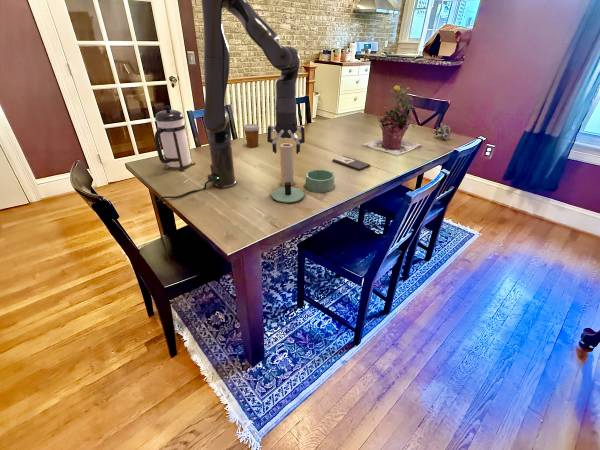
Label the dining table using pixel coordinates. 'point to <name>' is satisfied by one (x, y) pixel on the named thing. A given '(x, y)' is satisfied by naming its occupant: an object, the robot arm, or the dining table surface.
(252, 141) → the disposable coffee cup
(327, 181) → the pot
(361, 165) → the chocolate bar
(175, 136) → the coffee press
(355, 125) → the dining table surface
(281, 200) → the lid
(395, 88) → the potted flower
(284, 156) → the light brown hollow cylinder
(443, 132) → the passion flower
